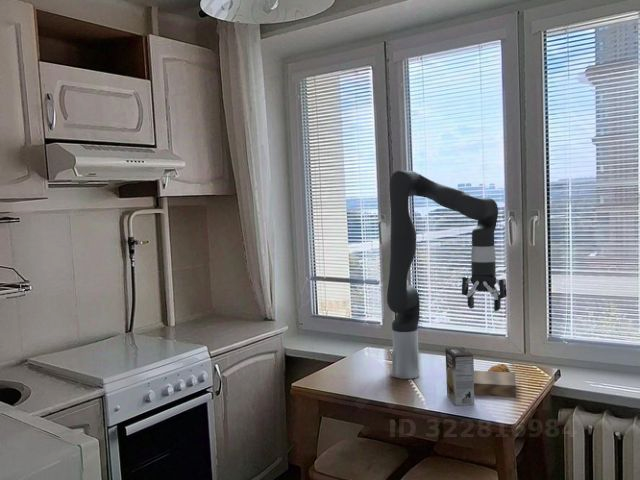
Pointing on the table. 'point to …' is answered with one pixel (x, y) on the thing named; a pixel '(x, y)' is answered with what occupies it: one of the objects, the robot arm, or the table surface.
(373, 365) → the table surface
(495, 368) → the pastry
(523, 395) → the table surface
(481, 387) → the plinth
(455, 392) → the coffee box
